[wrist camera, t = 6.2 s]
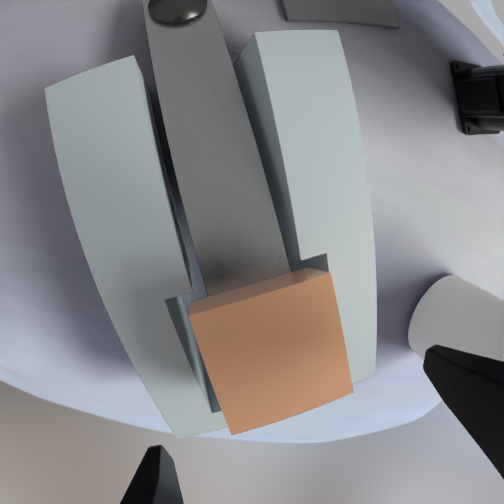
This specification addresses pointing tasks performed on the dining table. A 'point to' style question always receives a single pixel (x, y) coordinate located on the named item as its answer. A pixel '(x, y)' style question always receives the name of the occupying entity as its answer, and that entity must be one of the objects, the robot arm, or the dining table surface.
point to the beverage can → (458, 319)
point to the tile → (273, 348)
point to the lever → (213, 147)
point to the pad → (342, 11)
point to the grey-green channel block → (166, 217)
